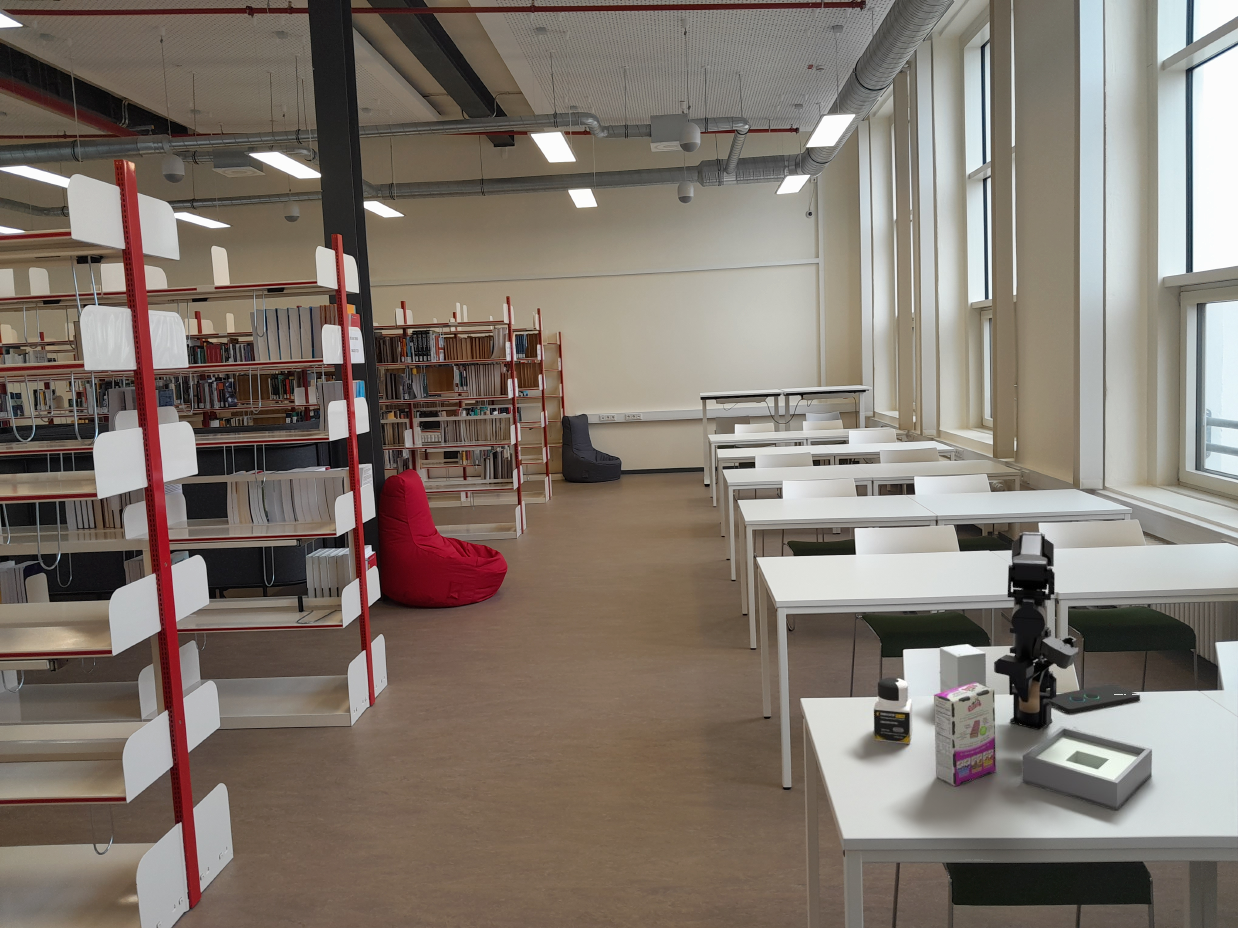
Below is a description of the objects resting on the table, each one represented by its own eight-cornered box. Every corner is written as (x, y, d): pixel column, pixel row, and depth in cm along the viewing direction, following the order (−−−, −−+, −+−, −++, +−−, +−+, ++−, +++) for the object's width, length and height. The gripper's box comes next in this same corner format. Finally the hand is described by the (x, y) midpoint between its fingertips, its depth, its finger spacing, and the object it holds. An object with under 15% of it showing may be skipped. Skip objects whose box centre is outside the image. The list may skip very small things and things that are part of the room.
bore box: (1022, 781, 164) (1022, 755, 163) (1061, 750, 176) (1061, 725, 175) (1116, 810, 152) (1117, 782, 152) (1151, 774, 164) (1151, 748, 164)
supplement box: (987, 707, 199) (987, 652, 197) (957, 711, 197) (956, 656, 196) (968, 696, 206) (968, 643, 205) (939, 699, 205) (938, 646, 203)
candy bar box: (975, 762, 172) (974, 680, 171) (996, 772, 168) (996, 688, 166) (933, 776, 167) (932, 692, 166) (954, 787, 163) (954, 701, 161)
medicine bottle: (874, 740, 184) (873, 684, 183) (877, 727, 191) (876, 673, 190) (910, 744, 182) (909, 687, 180) (912, 730, 188) (911, 676, 187)
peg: (1016, 709, 177) (1016, 682, 176) (1023, 704, 179) (1024, 678, 179) (1034, 714, 174) (1034, 686, 173) (1042, 708, 176) (1042, 682, 176)
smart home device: (1041, 695, 201) (1111, 683, 207) (1041, 703, 201) (1111, 690, 207) (1069, 708, 193) (1142, 695, 199) (1069, 716, 193) (1142, 702, 199)
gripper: (1052, 641, 163) (1052, 723, 164) (1091, 619, 175) (1090, 695, 177) (992, 630, 171) (992, 708, 172) (1033, 609, 183) (1033, 683, 185)
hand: (1029, 699), depth 176 cm, fingers closed on peg, 4 cm apart
